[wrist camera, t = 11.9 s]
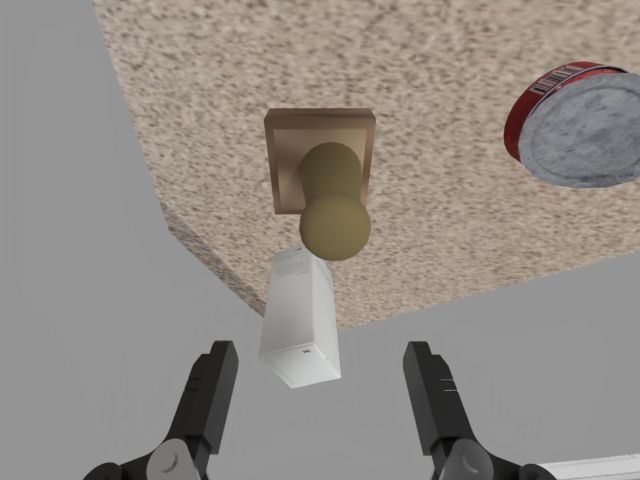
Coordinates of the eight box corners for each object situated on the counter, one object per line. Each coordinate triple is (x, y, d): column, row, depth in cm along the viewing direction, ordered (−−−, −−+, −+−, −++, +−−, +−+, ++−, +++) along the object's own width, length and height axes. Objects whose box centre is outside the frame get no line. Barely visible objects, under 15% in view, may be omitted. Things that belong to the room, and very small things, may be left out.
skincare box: (272, 252, 40) (252, 355, 27) (316, 238, 38) (314, 342, 26) (297, 289, 45) (288, 391, 32) (336, 278, 43) (343, 381, 31)
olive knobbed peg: (293, 190, 29) (282, 263, 20) (310, 133, 25) (305, 192, 17) (348, 205, 30) (359, 281, 21) (371, 153, 26) (396, 218, 18)
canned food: (522, 148, 35) (530, 214, 31) (484, 93, 30) (487, 163, 26) (660, 93, 27) (696, 174, 22) (639, 4, 22) (681, 86, 18)
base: (269, 108, 28) (263, 120, 25) (369, 108, 28) (376, 120, 25) (279, 196, 34) (274, 215, 31) (360, 196, 34) (365, 215, 31)
